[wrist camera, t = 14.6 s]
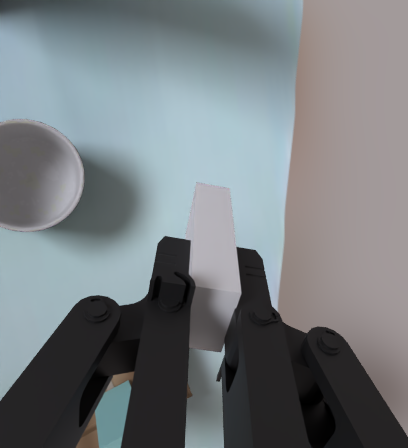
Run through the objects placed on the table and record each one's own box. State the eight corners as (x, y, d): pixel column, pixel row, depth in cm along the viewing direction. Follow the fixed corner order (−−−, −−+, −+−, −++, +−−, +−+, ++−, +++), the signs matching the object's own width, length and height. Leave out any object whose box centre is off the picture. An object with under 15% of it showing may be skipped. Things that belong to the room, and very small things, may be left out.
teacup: (82, 141, 45) (84, 123, 38) (83, 231, 45) (84, 231, 37) (-53, 132, 41) (-82, 109, 33) (-53, 232, 40) (-82, 232, 33)
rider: (106, 424, 42) (117, 491, 31) (92, 392, 42) (99, 449, 31) (139, 405, 43) (161, 464, 33) (126, 375, 43) (144, 423, 32)
